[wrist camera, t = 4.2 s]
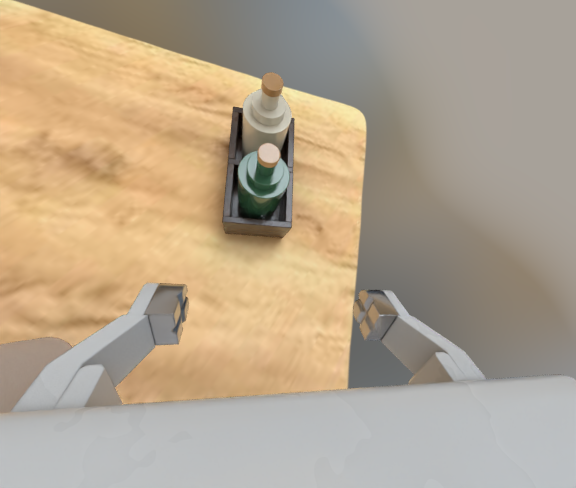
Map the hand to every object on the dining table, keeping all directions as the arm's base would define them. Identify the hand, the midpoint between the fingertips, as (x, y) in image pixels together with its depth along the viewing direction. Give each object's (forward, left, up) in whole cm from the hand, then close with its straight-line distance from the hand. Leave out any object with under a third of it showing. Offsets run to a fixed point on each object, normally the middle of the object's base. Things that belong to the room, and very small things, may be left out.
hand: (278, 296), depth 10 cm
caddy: (-8, +14, -22) cm, 27 cm away
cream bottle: (-10, +17, -21) cm, 29 cm away
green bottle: (-6, +11, -21) cm, 25 cm away
